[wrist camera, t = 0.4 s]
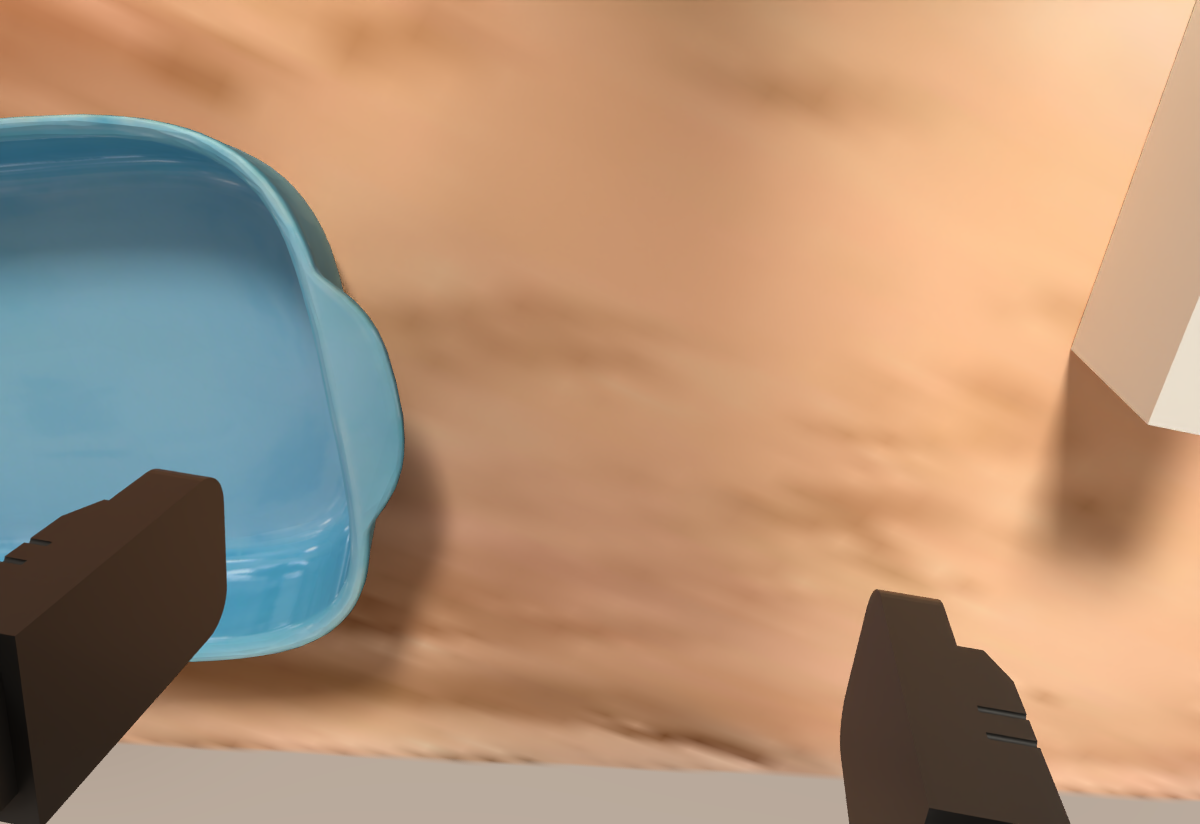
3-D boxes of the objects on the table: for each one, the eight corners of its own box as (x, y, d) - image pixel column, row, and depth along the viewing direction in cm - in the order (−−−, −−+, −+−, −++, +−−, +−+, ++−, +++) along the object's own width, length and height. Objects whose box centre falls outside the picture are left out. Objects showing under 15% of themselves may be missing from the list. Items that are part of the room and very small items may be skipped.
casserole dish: (-193, 593, 52) (-330, 674, 46) (-380, 157, 45) (-577, 178, 38) (488, 578, 46) (444, 669, 39) (406, 70, 38) (335, 77, 32)
